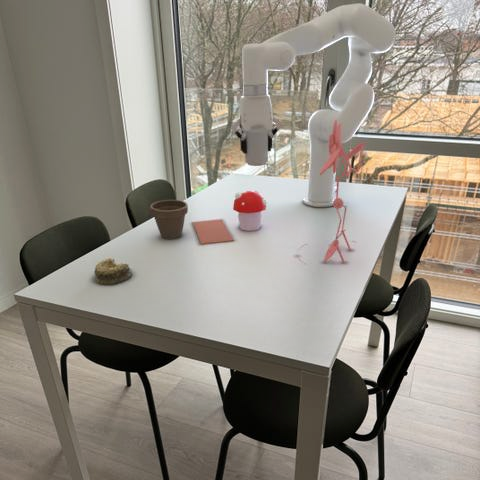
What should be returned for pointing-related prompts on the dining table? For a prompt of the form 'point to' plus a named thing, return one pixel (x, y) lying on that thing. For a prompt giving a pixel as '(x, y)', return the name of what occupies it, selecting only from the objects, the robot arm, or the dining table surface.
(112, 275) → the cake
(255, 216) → the mushroom
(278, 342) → the dining table surface
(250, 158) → the can
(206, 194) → the dining table surface
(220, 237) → the napkin
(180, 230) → the flower pot
